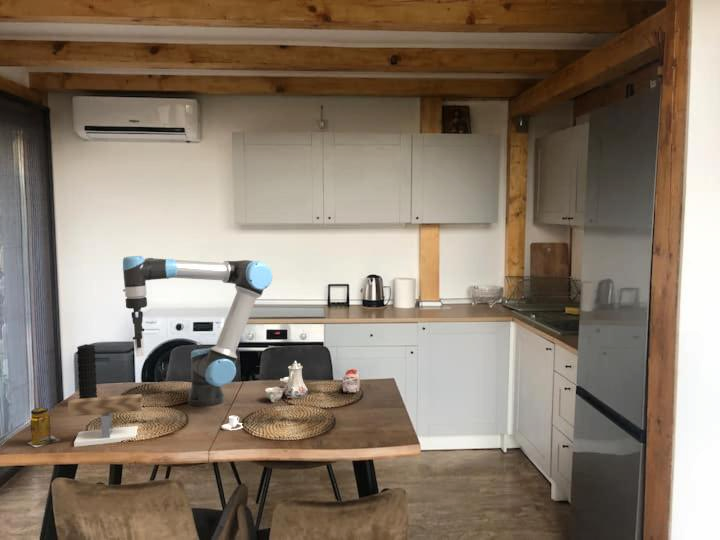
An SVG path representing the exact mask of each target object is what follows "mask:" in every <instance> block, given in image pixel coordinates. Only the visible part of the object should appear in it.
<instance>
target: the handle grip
mask: <svg viewBox="0 0 720 540" xmlns="http://www.w3.org/2000/svg"><path fill="white" fill-rule="evenodd" d="M95 347H96V346H95V345H94V344H86V343H85V344H82V345H79V346H77V347H76V349H77V352H76V353H77V370H78V372H77V373H78V375H77V376H78V377H77V378H78V388H79V389H78V393H79V394H78V395H79V398H78V399H84V398H97V397H98V395H97V394H98V392H97V391H98V387H97V386H98V385H97V373H96V372H97V370H96V369H97V365H96V361H97V360H96V349H95Z"/></svg>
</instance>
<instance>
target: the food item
mask: <svg viewBox="0 0 720 540" xmlns="http://www.w3.org/2000/svg"><path fill="white" fill-rule="evenodd" d="M341 382H342V390H343V392H345V391H349V392H356V391H358V392H359V390H360V388H361V386H360V385H361V373H360V371H359V370H357V369H354V368H352V369H346V370H345V374H344V375H343V376H342V381H341Z"/></svg>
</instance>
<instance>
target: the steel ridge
mask: <svg viewBox="0 0 720 540" xmlns="http://www.w3.org/2000/svg"><path fill="white" fill-rule="evenodd" d="M100 423H101V425H100V427H101V430H102V439H103V438H110V435H111V432H112V428H113V413H108V414H100Z"/></svg>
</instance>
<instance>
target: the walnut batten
mask: <svg viewBox="0 0 720 540" xmlns="http://www.w3.org/2000/svg"><path fill="white" fill-rule="evenodd" d="M142 409H143V395H142V393H137V394H125V395H113V396H110V395H109V396H100V397H98V396H97V398H84V399H79V398H76V399H75V398H74V399H69V401H68V402H67V416H68V417H69V418H70V417H71V418H73V417H82V416H84V417H85V416H93V415H102V414H108V413H112V414H115V413H116V414H119V413H130V412H141V411H142Z"/></svg>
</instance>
